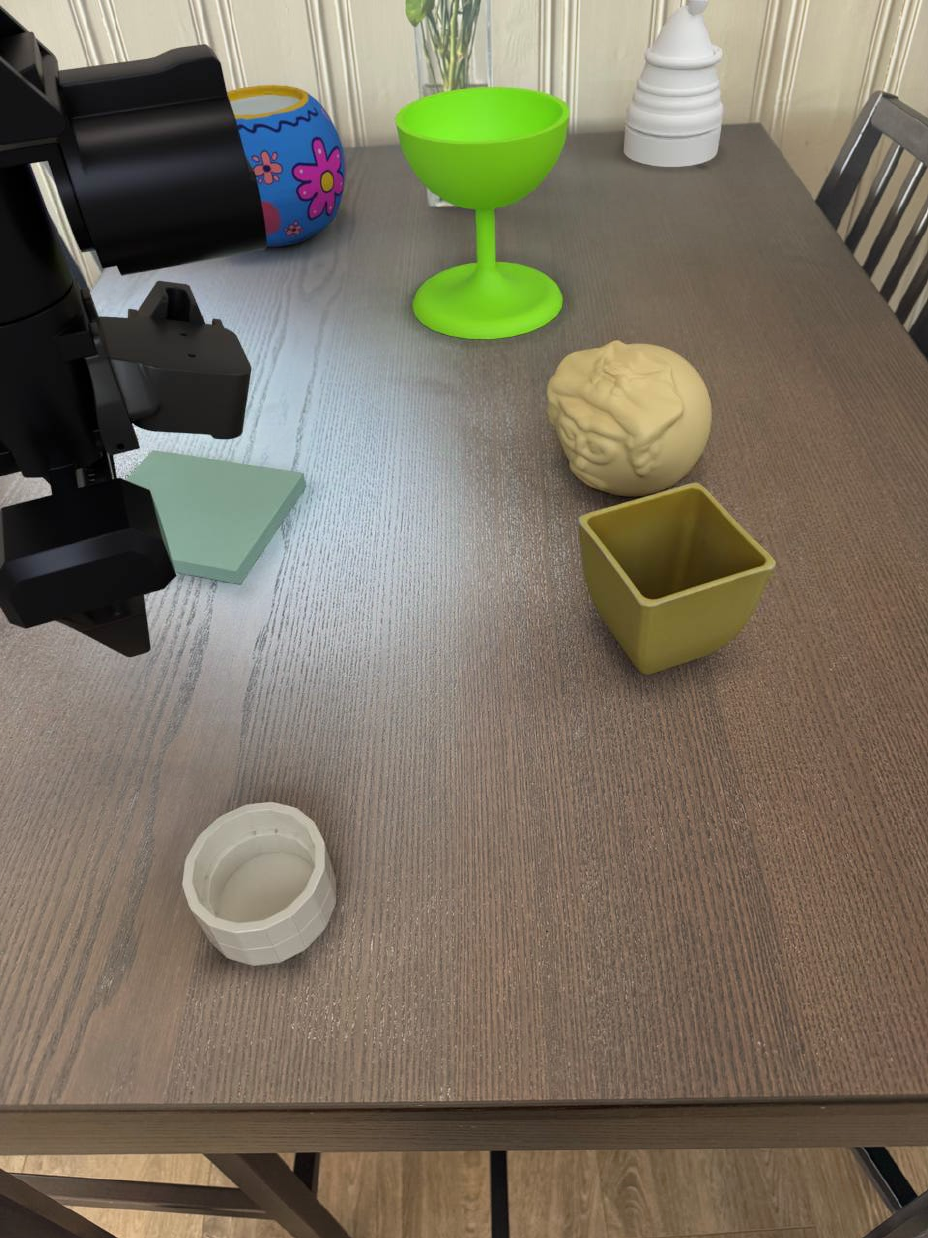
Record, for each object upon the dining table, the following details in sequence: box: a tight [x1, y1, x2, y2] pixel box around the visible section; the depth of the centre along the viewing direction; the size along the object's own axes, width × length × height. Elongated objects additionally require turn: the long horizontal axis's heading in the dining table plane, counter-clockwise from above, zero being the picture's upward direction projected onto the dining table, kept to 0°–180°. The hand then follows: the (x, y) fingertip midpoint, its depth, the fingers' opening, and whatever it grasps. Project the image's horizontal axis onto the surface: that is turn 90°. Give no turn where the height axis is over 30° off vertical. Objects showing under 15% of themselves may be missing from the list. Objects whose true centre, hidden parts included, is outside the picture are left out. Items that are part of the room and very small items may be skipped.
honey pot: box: [623, 0, 725, 168], centre depth 114 cm, size 13×13×18 cm
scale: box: [125, 449, 307, 585], centre depth 68 cm, size 15×13×3 cm
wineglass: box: [394, 86, 571, 340], centre depth 86 cm, size 16×16×18 cm
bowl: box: [181, 801, 337, 967], centre depth 45 cm, size 7×7×4 cm
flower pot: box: [577, 482, 777, 676], centre depth 55 cm, size 9×9×9 cm
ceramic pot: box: [227, 84, 347, 247], centre depth 101 cm, size 18×18×15 cm
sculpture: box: [546, 339, 713, 498], centre depth 67 cm, size 12×12×11 cm
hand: (126, 590), depth 44 cm, fingers open, 9 cm apart
